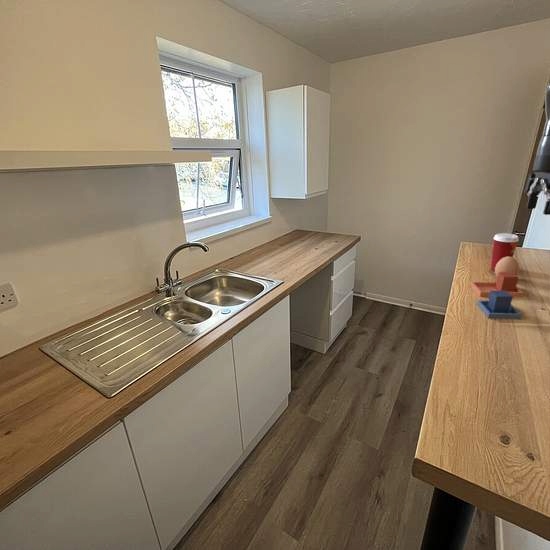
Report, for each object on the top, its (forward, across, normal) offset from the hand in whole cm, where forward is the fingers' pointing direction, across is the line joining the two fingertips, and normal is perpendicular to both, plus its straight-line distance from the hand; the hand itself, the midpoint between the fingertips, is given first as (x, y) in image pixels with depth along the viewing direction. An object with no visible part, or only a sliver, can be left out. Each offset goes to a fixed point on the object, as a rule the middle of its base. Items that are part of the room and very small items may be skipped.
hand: (538, 211), depth 89 cm
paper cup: (+27, +19, -3) cm, 34 cm away
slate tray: (+27, -14, +12) cm, 32 cm away
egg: (+27, +10, -1) cm, 29 cm away
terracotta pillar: (+27, 0, +4) cm, 27 cm away
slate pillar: (+27, -14, +12) cm, 32 cm away
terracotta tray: (+27, 0, +6) cm, 28 cm away
